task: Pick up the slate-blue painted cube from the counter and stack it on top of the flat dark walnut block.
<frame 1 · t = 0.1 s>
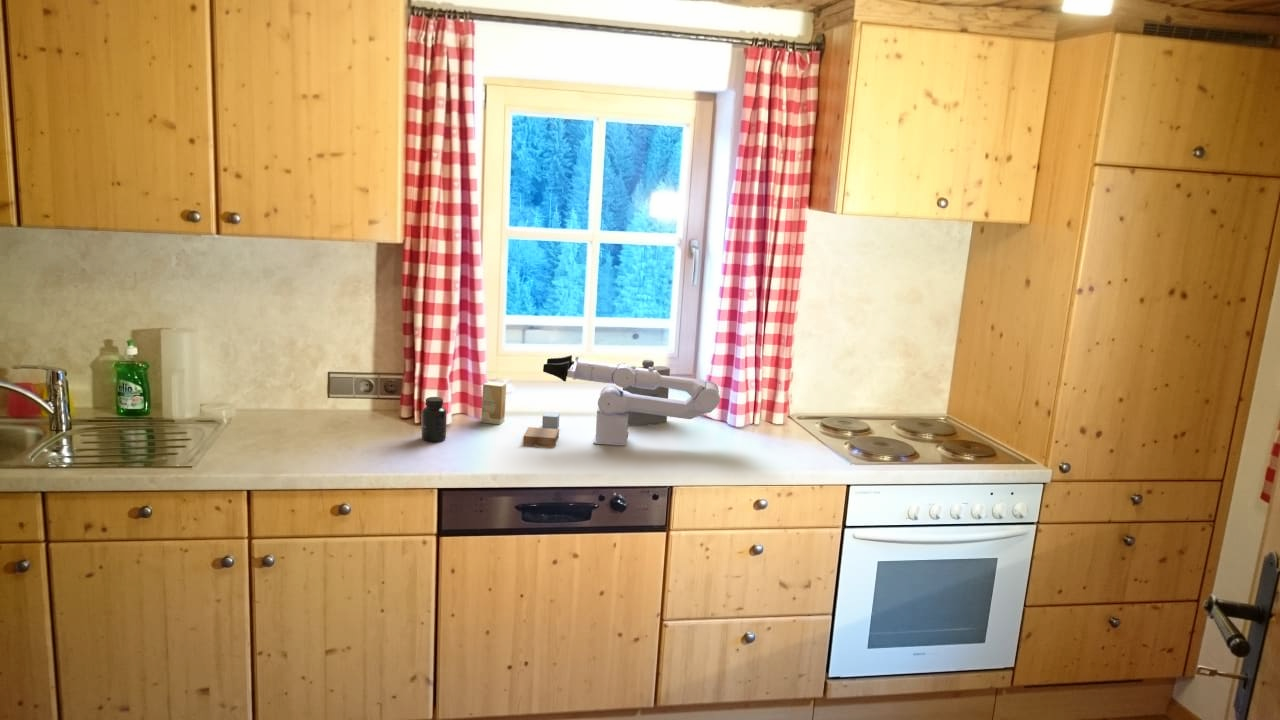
hand: (545, 365, 270), 22 cm above the countertop, tool horizontal, fingers open, 7 cm apart
skincare box: (493, 422, 287), on the countertop
supplement bottle: (433, 440, 266), on the countertop
walnut block: (541, 442, 271), on the countertop
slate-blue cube: (550, 428, 283), on the countertop
flask: (644, 423, 295), on the countertop
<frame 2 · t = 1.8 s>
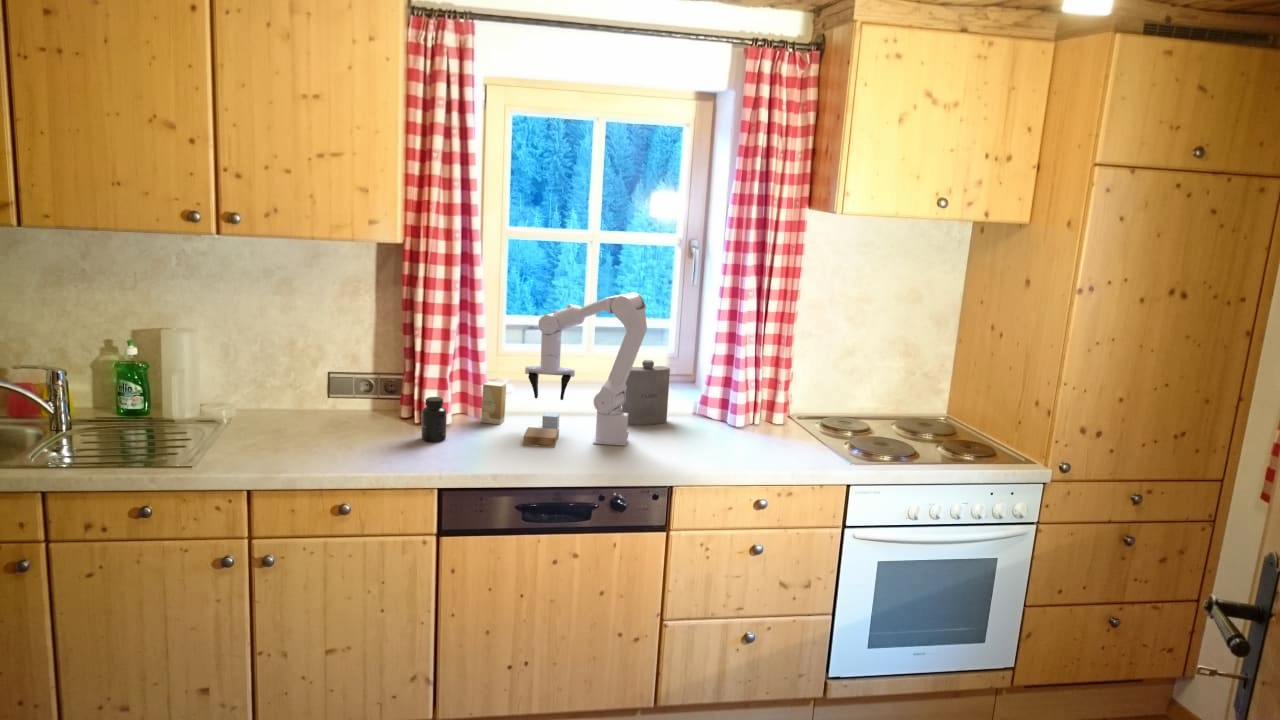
hand: (549, 398, 279), 10 cm above the countertop, tool pointing down, fingers open, 7 cm apart
nothing on the countertop moved.
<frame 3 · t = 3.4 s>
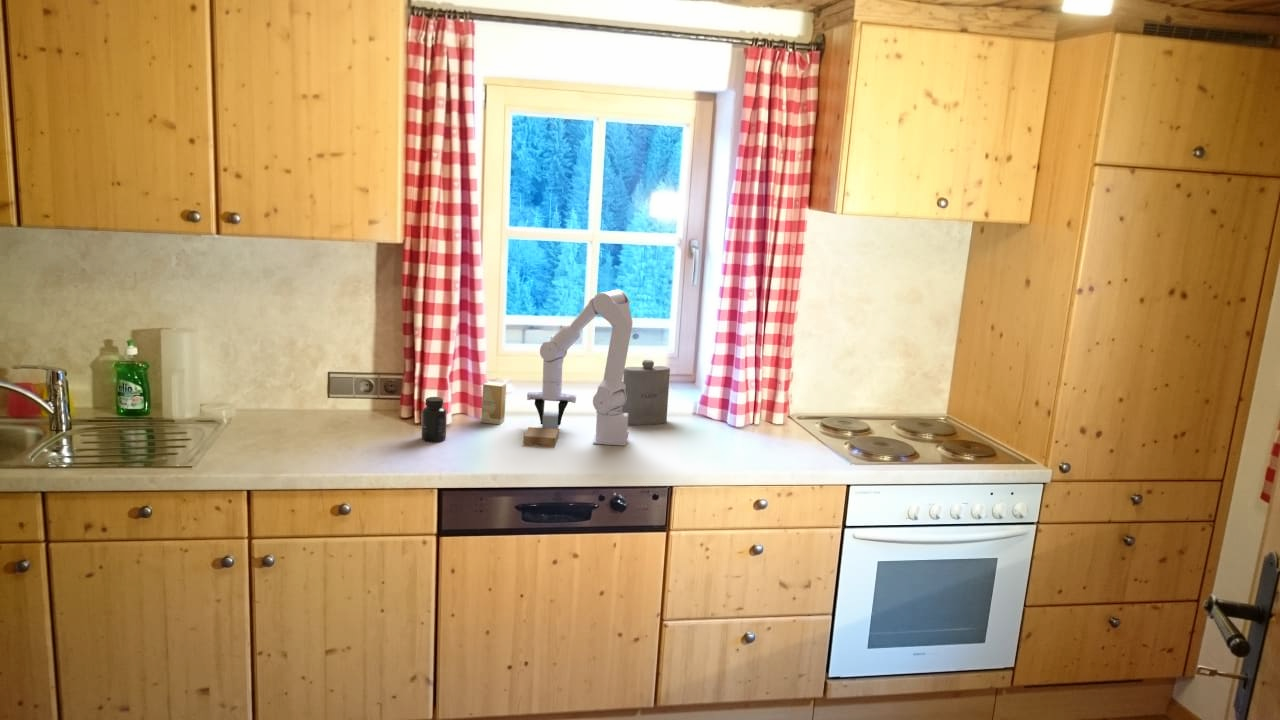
hand: (550, 423, 283), 1 cm above the countertop, tool pointing down, fingers closed on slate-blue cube, 4 cm apart
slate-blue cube: (550, 428, 283), on the countertop, touching gripper
everything else where it was.
when the fingers open (5 cm above the countertop, at t = 7.3 s): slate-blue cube drops 1 cm, resting on walnut block.
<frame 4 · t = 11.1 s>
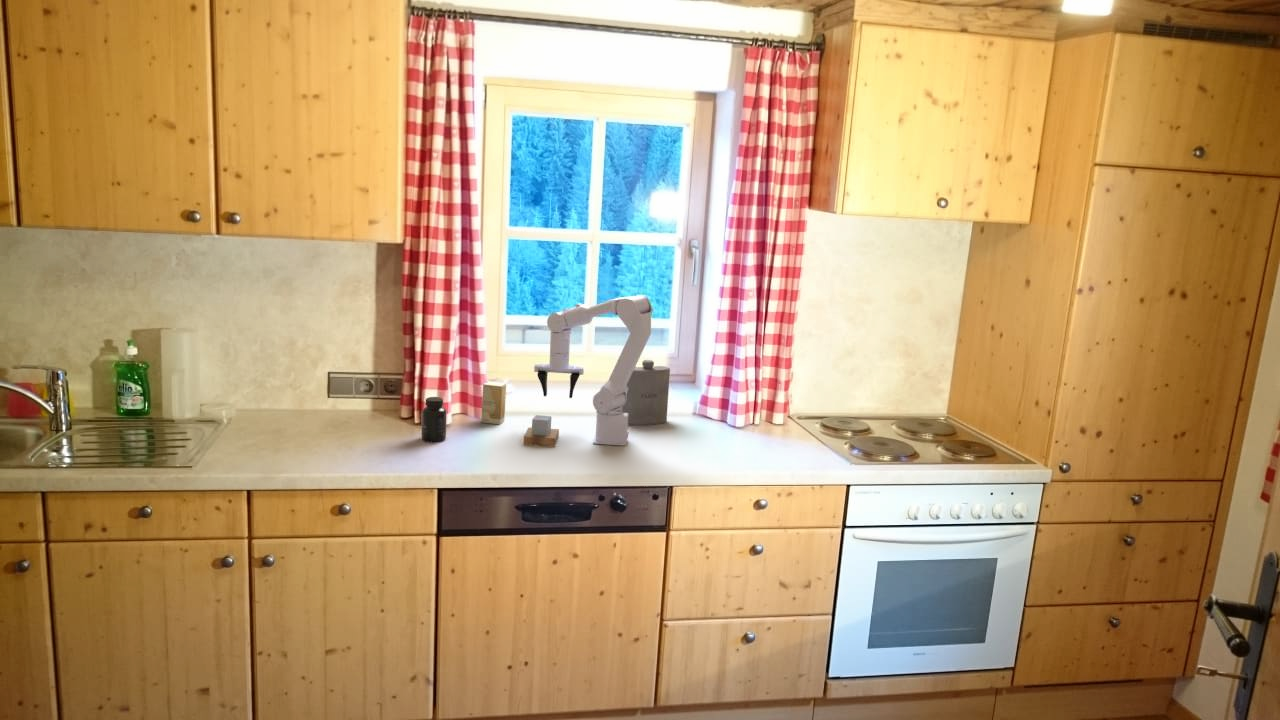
hand: (558, 396, 280), 10 cm above the countertop, tool pointing down, fingers open, 7 cm apart
walnut block: (541, 442, 270), on the countertop, touching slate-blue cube
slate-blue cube: (541, 432, 270), point 2 cm above the countertop, touching walnut block
everything else where it was.
at the end: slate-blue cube 0.1 cm off-centre on the walnut block, point 3.0 cm above the walnut block's base; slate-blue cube tilted 0°; the gripper is holding nothing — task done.
